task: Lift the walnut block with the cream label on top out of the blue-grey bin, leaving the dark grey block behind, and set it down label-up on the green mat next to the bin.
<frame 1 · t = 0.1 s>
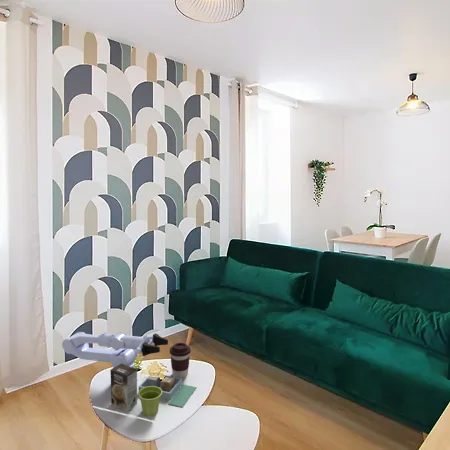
hand: (163, 345, 162), 22 cm above the table, tool horizontal, fingers open, 7 cm apart
plain block: (153, 387, 168), resting on bin
coffee cup: (180, 375, 179), on the table
coffee box: (124, 405, 155), on the table
labelled block: (167, 390, 166), resting on bin
mat: (182, 396, 162), on the table
plant pot: (150, 412, 151), on the table
bin: (160, 389, 167), on the table
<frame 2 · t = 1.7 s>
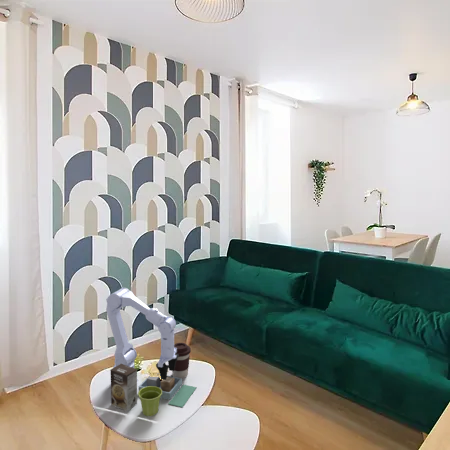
hand: (167, 374, 165), 8 cm above the table, tool pointing down, fingers open, 7 cm apart
nothing on the table moved.
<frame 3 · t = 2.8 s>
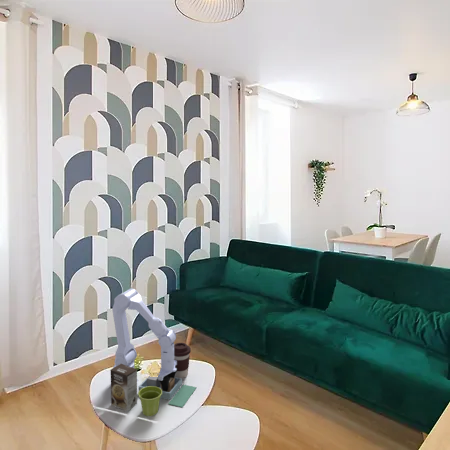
hand: (167, 387, 165), 2 cm above the table, tool pointing down, fingers closed on labelled block, 4 cm apart
labelled block: (167, 390, 166), resting on bin, touching gripper
everything else where it was.
when the fingers open (4 cm above the table, at t = 6.1 s): labelled block drops 1 cm, resting on mat.
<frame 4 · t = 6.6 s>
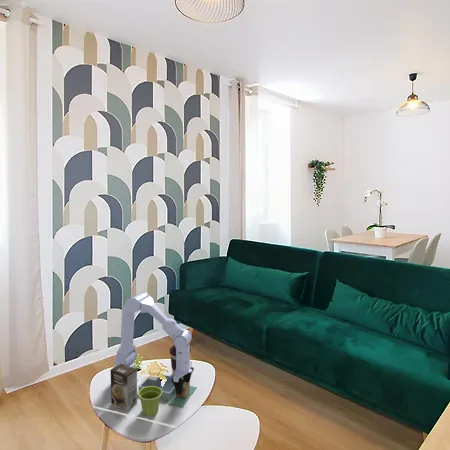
hand: (182, 388, 161), 4 cm above the table, tool pointing down, fingers open, 7 cm apart
labelled block: (182, 395, 162), point 1 cm above the table, touching mat
everything else where it was.
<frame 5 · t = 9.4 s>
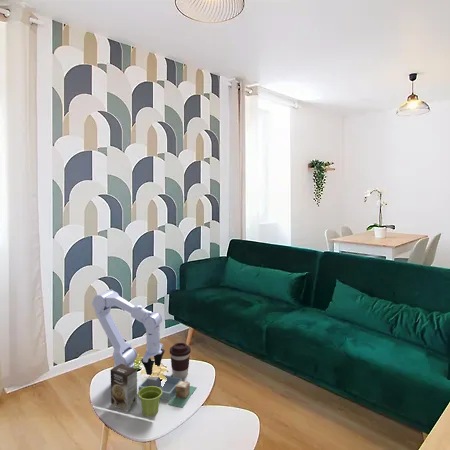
hand: (153, 370, 165), 9 cm above the table, tool pointing down, fingers open, 7 cm apart
nothing on the table moved.
at the end: labelled block inside the target area on the mat (0.1 cm from its centre), point 0.8 cm above the mat's base; labelled block tilted 0°; plain block moved 0.0 cm from its start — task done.
